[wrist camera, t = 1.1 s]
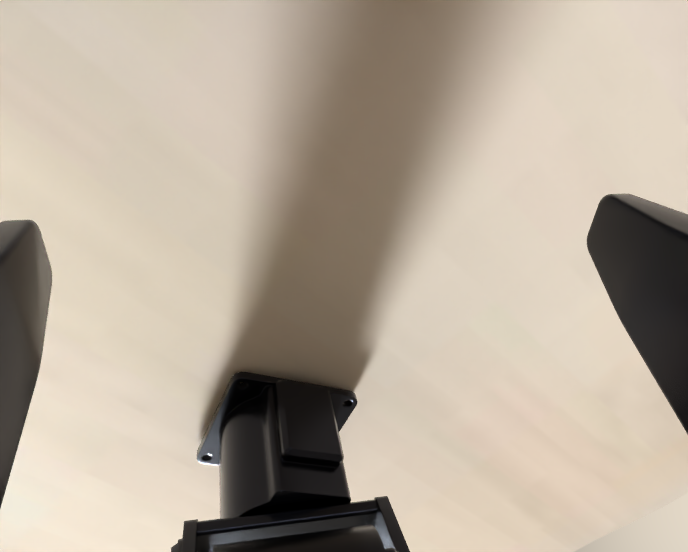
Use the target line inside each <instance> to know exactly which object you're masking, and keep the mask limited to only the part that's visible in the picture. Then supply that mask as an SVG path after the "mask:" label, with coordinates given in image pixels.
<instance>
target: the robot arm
mask: <svg viewBox="0 0 688 552" xmlns="http://www.w3.org/2000/svg"><path fill="white" fill-rule="evenodd" d="M587 247H588V251H589V253H590V255H591V257H592V260H593V262H594V264H595V266H596V268H597V271H598V273H599V275H600V277H601V280H602V282H603V284H604V286H605V288H606V291H607V293H608V295H609V297H610V299H611V302H612V304H613V306H614V308H615V310H616V312H617V314H618V316H619V318H620V320H621V322H622V324H623V326H624V327H625V329H626V331H627V333H628V334H629V336H630V338H631V339H632V341H633V343H634V344H635V346H636V348H637V350H638V351H639V353H640V355H641V356H642V358H643V360H644V361H645V363H646V365H647V366H648V368H649V370H650V371H651V373H652V375H653V377H654V378H655V380H656V382H657V383H658V385H659V387H660V388H661V390H662V392H663V393H664V395H665V397H666V398H667V400H668V402H669V404H670V405H671V407H672V409H673V410H674V412H675V414H676V415H677V417H678V419H679V420H680V422H681V424H682V425H683V427H684V429H685V431H686V432H687V434H688V214H685V213H682V212H679V211H676V210H674V209H671V208H668V207H665V206H662V205H659V204H657V203H654V202H651V201H648V200H645V199H643V198H640V197H637V196H634V195H631V194H610V195H606V196H605V197H603V198H602V199H601V201H600V203H599V205H598V208H597V210H596V213H595V216H594V219H593V222H592V224H591V227H590V230H589V233H588V236H587ZM51 286H52V271H51V266H50V262H49V259H48V256H47V252H46V249H45V246H44V242H43V239H42V236H41V232H40V229H39V227H38V225H37V224H36V223H35V222H34V221H32V220H11V221H3V222H1V223H0V508H1V504H2V501H3V497H4V493H5V490H6V486H7V483H8V479H9V476H10V472H11V469H12V465H13V462H14V458H15V455H16V451H17V448H18V444H19V441H20V437H21V434H22V430H23V427H24V423H25V420H26V416H27V412H28V409H29V405H30V402H31V398H32V395H33V391H34V388H35V384H36V381H37V377H38V373H39V369H40V363H41V357H42V351H43V344H44V336H45V329H46V322H47V315H48V307H49V300H50V293H51ZM240 382H244V383H240ZM346 400H347V401H346ZM356 405H357V399H356V395H355V393H354V392H352V391H348V390H342V389H337V388H331V387H326V386H320V385H314V384H309V383H303V382H298V381H292V380H287V379H281V378H275V377H270V376H264V375H259V374H253V373H248V372H239V373H236V374H234V375H233V376H232V378H231V380H230V382H229V384H228V386H227V388H226V391H225V393H224V395H223V397H222V399H221V401H220V403H219V405H218V408H217V410H216V412H215V414H214V416H213V418H212V420H211V422H210V425H209V427H208V429H207V431H206V433H205V435H204V437H203V439H202V442H201V444H200V446H199V448H198V450H197V460H198V462H200V463H203V464H211V465H219V468H220V519H216V520H208V521H200V522H198V519H197V520H189V521H184V530H183V538H182V539H179V540H178V543H177V544H176V545H174V546H173V547H172V548H171V552H410V551H409V549H408V546H407V544H406V541H405V539H404V536H403V534H402V531H401V529H400V526H399V524H398V521H397V519H396V517H395V514H394V512H393V509H392V507H391V504H390V502H389V499H388V497H387V496H383V497H375V499H374V500H368V501H360V502H352V503H350V501H351V498H350V493H349V488H348V483H347V479H346V474H345V469H344V464H343V458H344V456H343V451H342V447H341V442H340V437H339V431H340V430H341V428H342V426H343V425H344V423H345V422H346V420H347V419H348V417H349V416H350V414H351V413H352V411H353V409H354V408H355V406H356Z"/></svg>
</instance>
